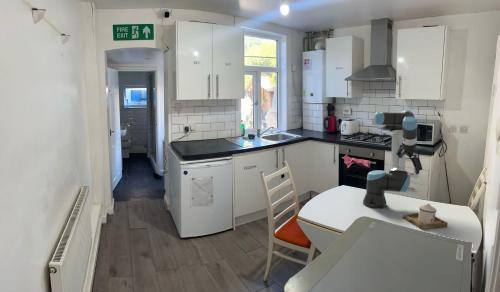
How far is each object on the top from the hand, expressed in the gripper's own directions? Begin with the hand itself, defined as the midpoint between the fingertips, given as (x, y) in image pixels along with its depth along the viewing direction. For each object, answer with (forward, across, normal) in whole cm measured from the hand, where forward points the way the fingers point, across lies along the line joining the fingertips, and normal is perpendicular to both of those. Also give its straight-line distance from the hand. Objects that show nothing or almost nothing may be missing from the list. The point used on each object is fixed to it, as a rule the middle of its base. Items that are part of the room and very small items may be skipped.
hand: (408, 171), depth 214 cm
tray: (+25, +19, -3) cm, 31 cm away
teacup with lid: (+23, +20, -3) cm, 31 cm away
